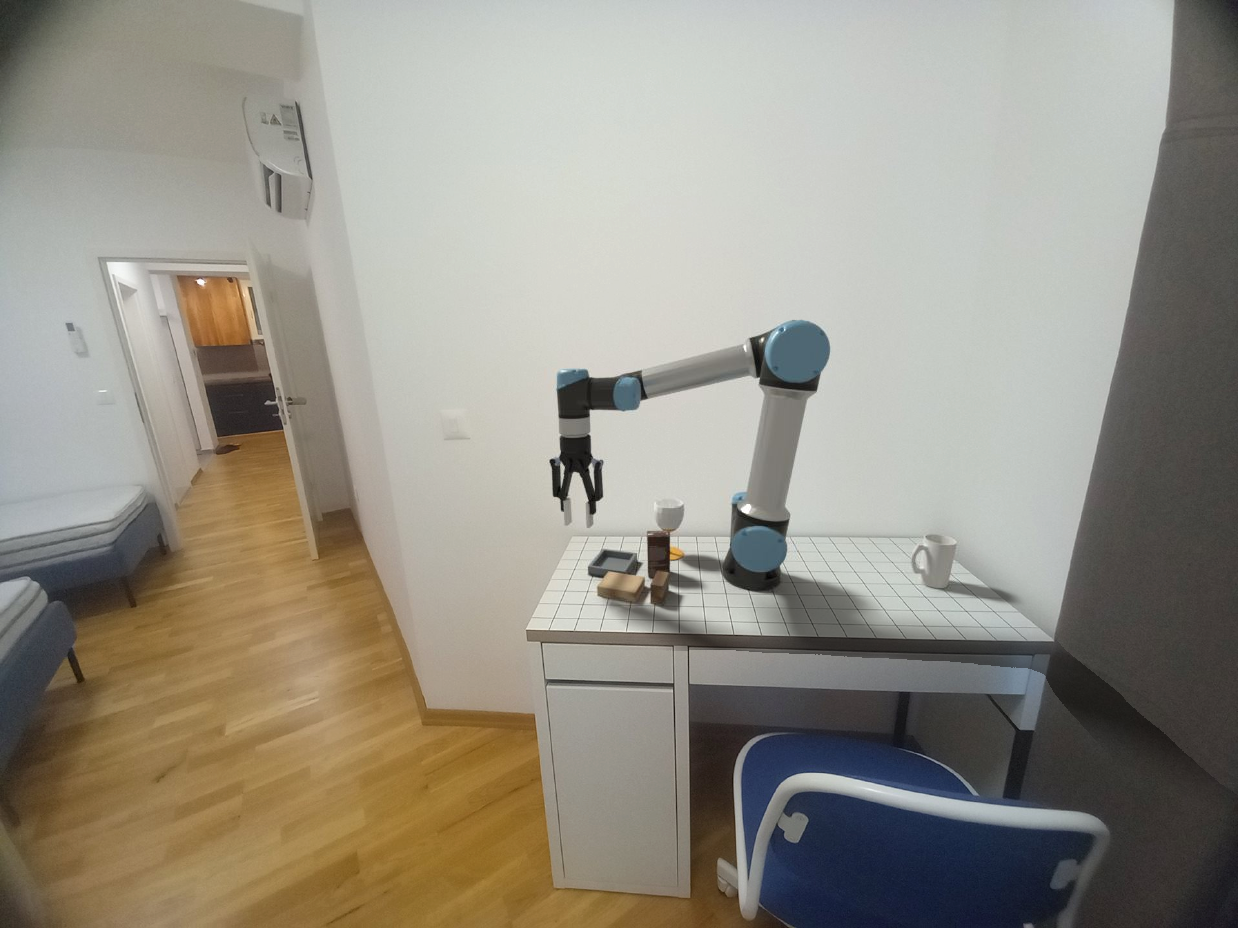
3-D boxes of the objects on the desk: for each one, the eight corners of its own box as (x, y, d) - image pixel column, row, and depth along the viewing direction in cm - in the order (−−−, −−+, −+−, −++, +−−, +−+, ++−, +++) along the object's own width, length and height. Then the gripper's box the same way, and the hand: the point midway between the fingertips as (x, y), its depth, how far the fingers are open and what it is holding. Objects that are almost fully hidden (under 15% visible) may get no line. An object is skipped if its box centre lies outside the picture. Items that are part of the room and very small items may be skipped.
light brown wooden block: (644, 587, 116) (644, 576, 115) (635, 603, 109) (635, 592, 108) (608, 581, 119) (608, 571, 118) (597, 596, 112) (597, 586, 111)
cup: (690, 555, 132) (691, 503, 128) (666, 563, 128) (667, 510, 124) (670, 544, 140) (670, 495, 136) (647, 552, 135) (647, 502, 131)
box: (668, 569, 124) (668, 529, 121) (670, 578, 120) (670, 536, 116) (646, 570, 124) (646, 529, 121) (647, 578, 120) (647, 536, 117)
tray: (637, 560, 129) (637, 553, 129) (625, 580, 119) (624, 571, 118) (602, 556, 133) (602, 548, 132) (588, 574, 122) (587, 566, 121)
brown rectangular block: (668, 590, 113) (668, 572, 112) (662, 604, 107) (662, 586, 106) (657, 588, 114) (657, 570, 113) (650, 602, 108) (650, 584, 107)
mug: (936, 575, 118) (943, 533, 115) (955, 588, 112) (963, 544, 109) (898, 576, 118) (905, 534, 115) (915, 589, 111) (923, 545, 108)
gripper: (616, 433, 108) (618, 523, 114) (547, 430, 113) (553, 516, 119) (605, 439, 101) (608, 534, 107) (533, 435, 107) (539, 526, 112)
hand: (579, 524), depth 113 cm, fingers open, 5 cm apart
